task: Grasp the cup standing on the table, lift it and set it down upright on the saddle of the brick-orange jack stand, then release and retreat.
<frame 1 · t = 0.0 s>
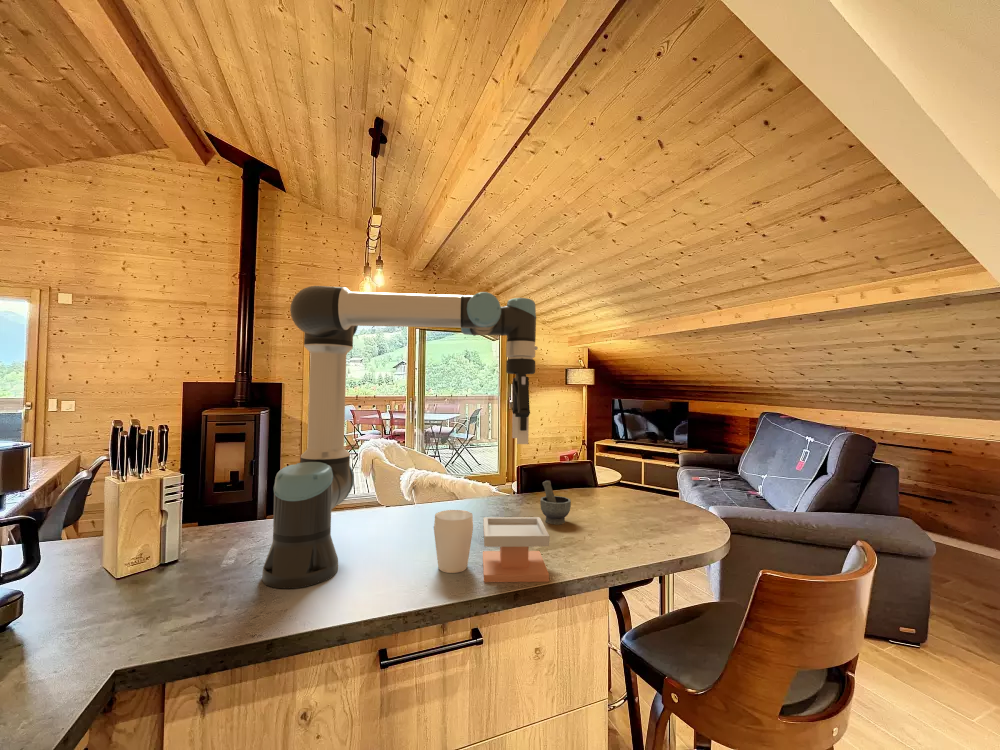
hand: (519, 440, 114), 28 cm above the kitchen island, fingers open, 13 cm apart
mortar and pestle: (553, 521, 139), on the kitchen island
cup: (452, 568, 102), on the kitchen island
stand: (513, 568, 101), on the kitchen island
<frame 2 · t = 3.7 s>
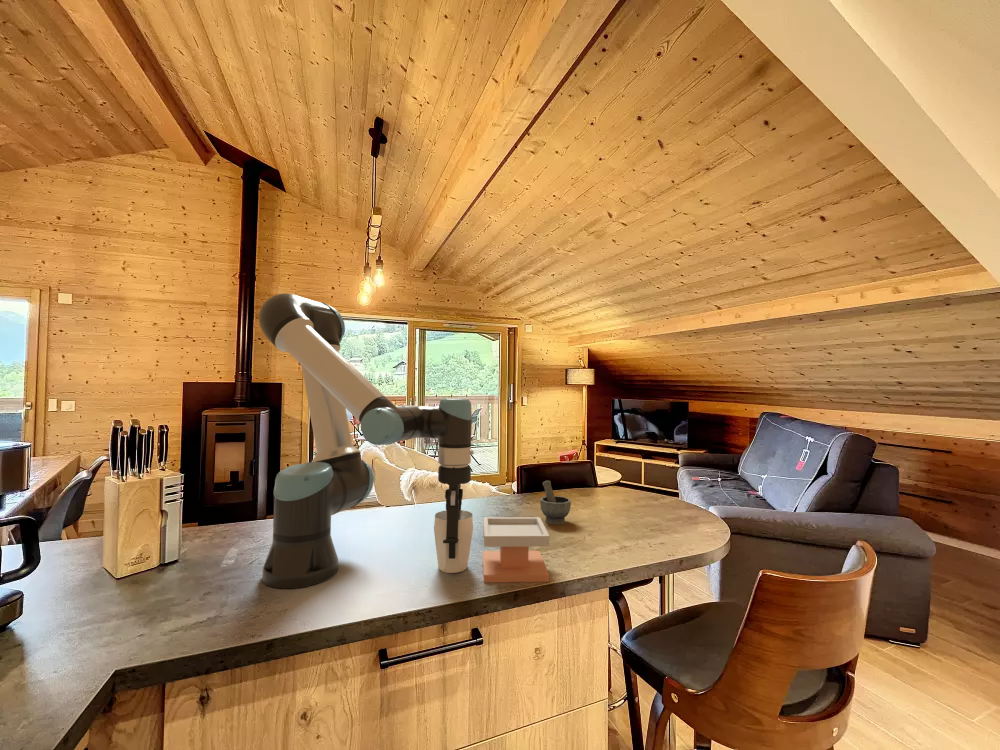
hand: (452, 563, 102), 1 cm above the kitchen island, fingers closed on cup, 9 cm apart
cup: (452, 568, 102), on the kitchen island, touching gripper
everything else where it was.
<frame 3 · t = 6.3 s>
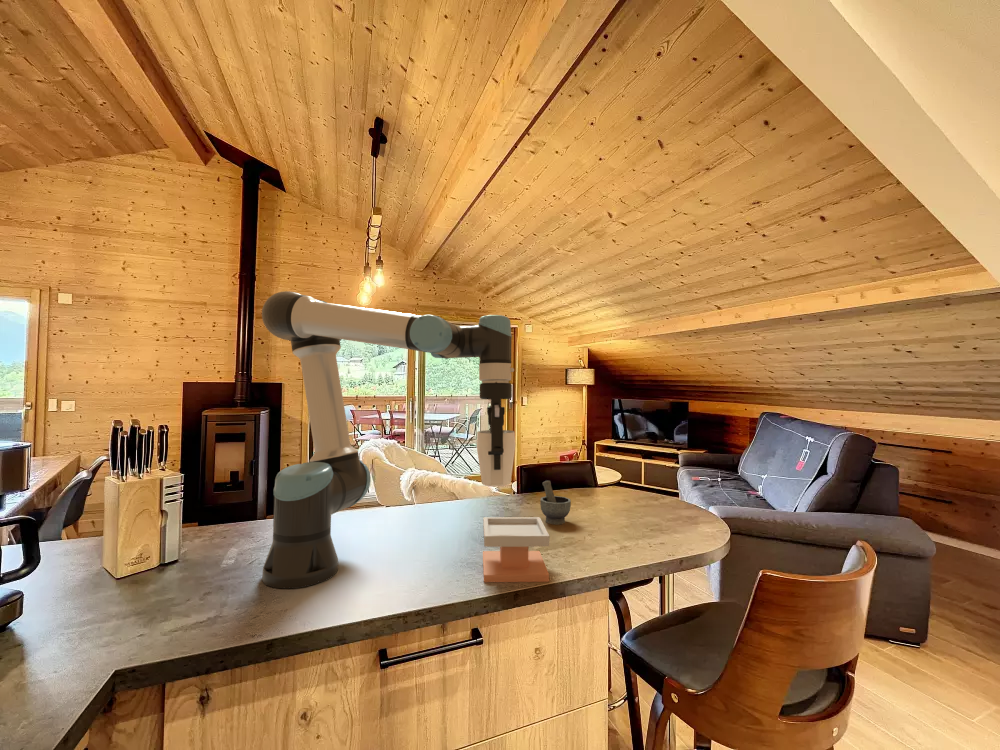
hand: (496, 479, 102), 20 cm above the kitchen island, fingers closed on cup, 9 cm apart
cup: (496, 484, 102), point 19 cm above the kitchen island, touching gripper
everything else where it was.
when the fingers open (11 cm above the kitchen island, at t = 9.1 s): cup drops 1 cm, resting on stand.
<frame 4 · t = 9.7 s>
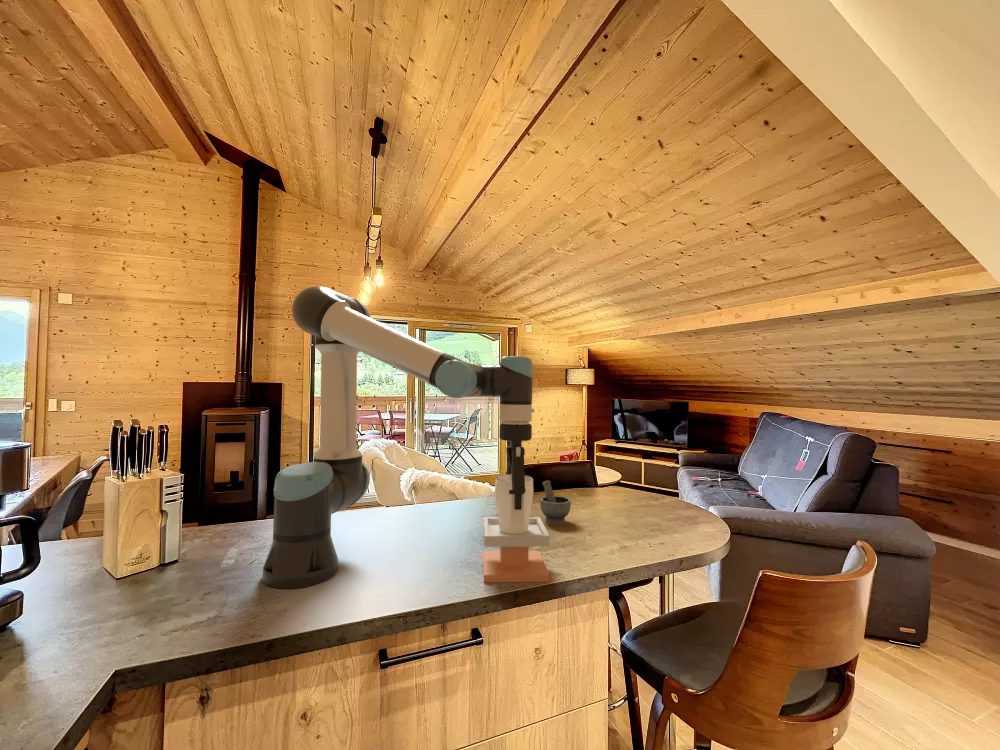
hand: (514, 515, 102), 12 cm above the kitchen island, fingers open, 13 cm apart
cup: (513, 530, 103), point 8 cm above the kitchen island, touching stand
everything else where it was.
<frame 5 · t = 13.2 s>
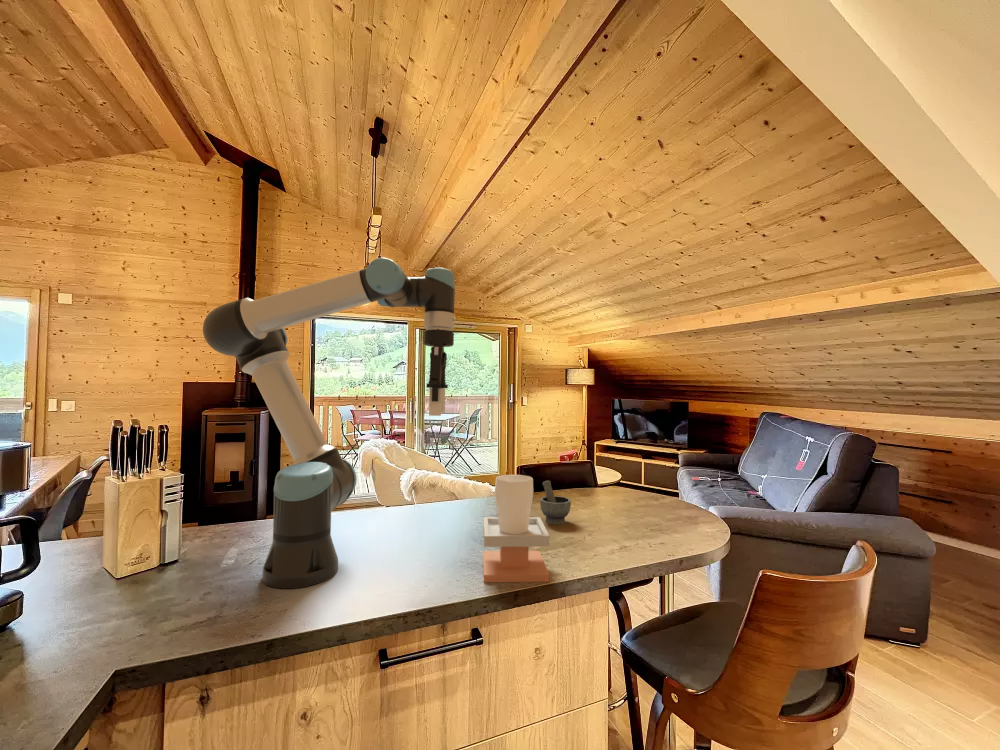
hand: (437, 414, 111), 35 cm above the kitchen island, fingers open, 13 cm apart
nothing on the kitchen island moved.
at the end: cup inside the target area on the stand (1.0 cm from its centre), point 8.3 cm above the stand's base; cup tilted 0°; cup touching stand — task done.
